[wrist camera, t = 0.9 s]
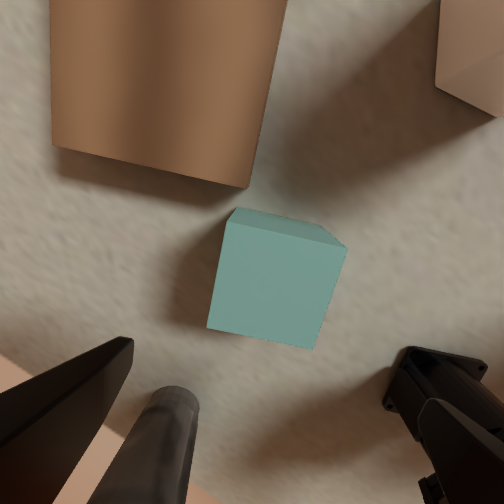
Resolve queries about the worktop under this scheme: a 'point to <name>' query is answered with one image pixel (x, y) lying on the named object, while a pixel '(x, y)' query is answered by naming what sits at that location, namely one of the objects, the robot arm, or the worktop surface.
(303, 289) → the teal block
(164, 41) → the walnut base
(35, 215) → the worktop surface
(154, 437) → the beverage cup
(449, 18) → the jar
